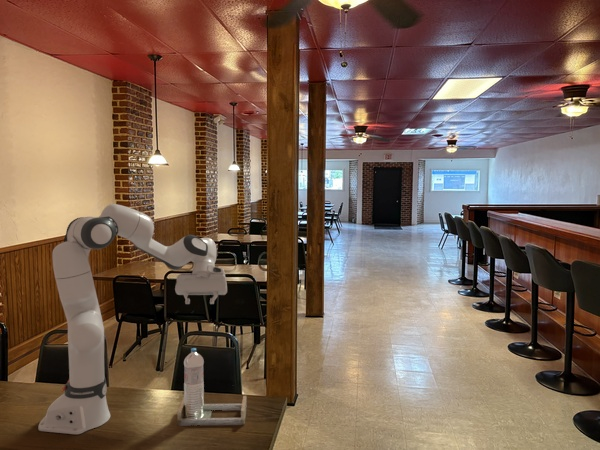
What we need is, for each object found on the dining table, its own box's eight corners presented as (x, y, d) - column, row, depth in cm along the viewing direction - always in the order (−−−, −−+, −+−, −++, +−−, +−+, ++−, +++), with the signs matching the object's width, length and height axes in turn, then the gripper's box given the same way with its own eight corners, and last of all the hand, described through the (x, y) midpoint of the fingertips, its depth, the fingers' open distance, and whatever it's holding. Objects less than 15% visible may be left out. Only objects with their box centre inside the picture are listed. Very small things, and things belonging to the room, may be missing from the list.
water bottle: (200, 421, 157) (200, 352, 155) (181, 420, 158) (180, 351, 156) (206, 412, 164) (206, 345, 162) (188, 410, 165) (187, 344, 163)
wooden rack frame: (177, 425, 155) (177, 411, 154) (184, 409, 166) (184, 396, 166) (244, 424, 156) (244, 411, 156) (246, 408, 167) (246, 395, 167)
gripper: (176, 269, 180) (171, 299, 171) (227, 269, 181) (225, 299, 172) (178, 277, 184) (173, 307, 176) (228, 277, 186) (226, 307, 177)
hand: (199, 303), depth 174 cm, fingers open, 8 cm apart
